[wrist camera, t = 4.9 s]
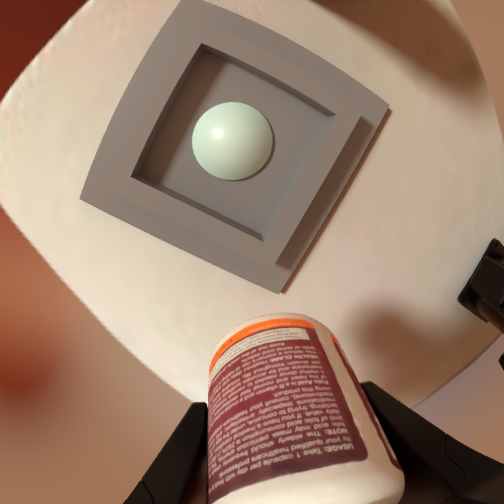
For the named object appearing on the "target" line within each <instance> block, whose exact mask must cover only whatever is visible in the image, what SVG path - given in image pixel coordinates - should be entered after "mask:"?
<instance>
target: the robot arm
mask: <svg viewBox="0 0 504 504" xmlns="http://www.w3.org/2000/svg"><path fill="white" fill-rule="evenodd" d="M458 302H459V303H460V304H461V305H463V306H464V307H465V308H467V309H468V310H470V311H471V312H472V313H474V314H475V315H476V316H478V317H479V318H481V319H482V320H483V321H485V322H486V323H487V322H489V321H490V322H491V323H492V324H493V325H494V326H495V327H496V328H497V329H498V330H500V331H501V332H502V333H503V334H504V246H503V245H502V244H501V243H500V241H499V240H497V239H493V240H492V241H491V243H490V244H489V246H488V248H487V250H486V252H485V254H484V255H483V257H482V259H481V261H480V262H479V264H478V266H477V268H476V269H475V271H474V273H473V274H472V276H471V278H470V279H469V281H468V282H467V284H466V286H465V287H464V289H463V290H462V292H461V293H460V295H459V297H458ZM499 363H500V365H501V366H502V368H503V370H504V353H503V355H501V357H500V359H499ZM360 385H361V387H362V389H363V390H364V392H365V394H366V397H367V399H368V401H369V403H370V405H371V407H372V409H373V411H374V413H375V415H376V417H377V419H378V421H379V423H380V425H381V428H382V430H383V432H384V434H385V436H386V438H387V440H388V442H389V444H390V446H391V448H392V450H393V452H394V454H395V457H396V459H397V461H398V463H399V465H400V466H401V468H402V470H403V473H404V481H405V487H404V492H403V495H402V497H401V499H400V501H399V503H398V504H504V464H503V463H500V462H498V461H496V460H494V459H492V458H490V457H487V456H485V455H483V454H481V453H479V452H477V451H475V450H473V449H471V448H469V447H468V446H466V445H464V444H462V443H461V442H459V441H457V440H456V439H454V438H453V437H451V436H450V435H448V434H445V432H443V431H442V430H440V429H439V428H438V427H436V426H435V425H433V424H432V423H430V422H429V421H427V420H426V419H424V418H423V417H421V416H420V415H419V414H417V413H416V412H414V411H413V410H411V409H410V408H408V407H407V406H406V405H404V404H403V403H401V402H400V401H398V400H397V399H395V398H394V397H393V396H391V395H390V394H388V393H387V392H386V391H384V390H383V389H381V388H380V387H378V386H377V385H376V384H374V383H373V382H371V381H366V382H362V383H360ZM207 419H208V408H207V404H206V403H205V402H194V403H192V404H191V406H190V407H189V409H188V410H187V412H186V414H185V415H184V417H183V418H182V420H181V421H180V423H179V424H178V426H177V427H176V429H175V430H174V432H173V433H172V435H171V436H170V438H169V439H168V441H167V442H166V444H165V445H164V447H163V448H162V450H161V451H160V452H159V454H158V455H157V457H156V458H155V460H154V461H153V463H152V464H151V466H150V467H149V469H148V470H147V472H146V473H145V475H144V476H143V477H142V481H141V480H140V481H139V483H138V484H137V486H136V487H135V489H134V490H133V491H132V493H131V494H130V495H129V497H128V498H127V499H126V500H125V502H124V503H123V504H206V479H207V465H206V463H207V427H208V425H207Z"/></svg>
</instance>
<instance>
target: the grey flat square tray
mask: <svg viewBox="0 0 504 504" xmlns="http://www.w3.org/2000/svg"><path fill="white" fill-rule="evenodd" d="M388 107H389V104H387V103H386V102H385V101H384V100H382V99H381V98H380V97H378V96H377V95H376V94H374V93H373V92H372V91H370V90H369V89H367V88H366V87H365V86H363V85H362V84H360V83H359V82H358V81H356V80H355V79H353V78H352V77H350V76H349V75H347V74H346V73H344V72H343V71H341V70H340V69H338V68H337V67H335V66H334V65H332V64H331V63H329V62H327V61H326V60H324V59H323V58H321V57H319V56H318V55H316V54H314V53H313V52H311V51H309V50H307V49H306V48H304V47H302V46H300V45H299V44H297V43H295V42H293V41H291V40H289V39H288V38H286V37H284V36H282V35H280V34H278V33H276V32H274V31H272V30H270V29H268V28H266V27H264V26H262V25H260V24H258V23H256V22H254V21H251V20H249V19H247V18H245V17H242V16H240V15H238V14H236V13H233V12H231V11H228V10H226V9H224V8H221V7H218V6H216V5H213V4H211V3H208V2H205V1H203V0H181V1H180V2H179V4H178V5H177V7H176V8H175V9H174V11H173V12H172V14H171V15H170V17H169V18H168V19H167V21H166V22H165V24H164V25H163V27H162V28H161V30H160V32H159V33H158V35H157V36H156V38H155V39H154V41H153V43H152V44H151V46H150V47H149V49H148V51H147V52H146V54H145V56H144V57H143V59H142V61H141V63H140V64H139V66H138V68H137V70H136V71H135V73H134V75H133V77H132V79H131V81H130V82H129V84H128V86H127V88H126V90H125V92H124V94H123V96H122V98H121V100H120V102H119V104H118V106H117V108H116V110H115V112H114V114H113V116H112V118H111V121H110V123H109V125H108V127H107V129H106V132H105V134H104V136H103V138H102V141H101V143H100V146H99V148H98V150H97V153H96V155H95V158H94V160H93V163H92V165H91V168H90V171H89V173H88V176H87V179H86V181H85V184H84V187H83V190H82V193H81V196H80V199H81V200H83V201H85V202H87V203H88V204H90V205H92V206H94V207H96V208H98V209H100V210H102V211H104V212H106V213H108V214H110V215H112V216H114V217H116V218H118V219H120V220H122V221H124V222H126V223H128V224H130V225H132V226H134V227H136V228H138V229H141V230H143V231H145V232H147V233H149V234H151V235H153V236H155V237H157V238H159V239H161V240H163V241H165V242H167V243H169V244H171V245H173V246H176V247H178V248H180V249H182V250H184V251H186V252H188V253H190V254H192V255H194V256H196V257H199V258H201V259H203V260H205V261H207V262H209V263H211V264H213V265H216V266H218V267H220V268H222V269H224V270H226V271H228V272H231V273H233V274H235V275H237V276H239V277H241V278H244V279H246V280H248V281H250V282H252V283H254V284H257V285H259V286H261V287H263V288H265V289H268V290H270V291H272V292H274V293H276V294H279V293H280V291H281V290H282V288H283V287H284V285H285V284H286V282H287V280H288V279H289V277H290V276H291V274H292V272H293V271H294V269H295V268H296V266H297V264H298V263H299V261H300V260H301V258H302V256H303V255H304V253H305V252H306V250H307V248H308V247H309V245H310V243H311V242H312V240H313V238H314V237H315V235H316V234H317V232H318V230H319V229H320V227H321V225H322V224H323V222H324V220H325V219H326V217H327V215H328V214H329V212H330V210H331V209H332V207H333V205H334V203H335V202H336V200H337V198H338V197H339V195H340V193H341V191H342V190H343V188H344V186H345V185H346V183H347V181H348V179H349V178H350V176H351V174H352V172H353V171H354V169H355V167H356V165H357V164H358V162H359V160H360V158H361V157H362V155H363V153H364V151H365V149H366V148H367V146H368V144H369V142H370V140H371V139H372V137H373V135H374V133H375V131H376V129H377V128H378V126H379V124H380V122H381V120H382V118H383V117H384V115H385V113H386V111H387V109H388Z"/></svg>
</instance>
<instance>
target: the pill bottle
mask: <svg viewBox="0 0 504 504" xmlns="http://www.w3.org/2000/svg"><path fill="white" fill-rule="evenodd" d="M207 425H208V427H207V463H206V465H207V479H206V504H398V503H399V501H400V499H401V497H402V495H403V492H404V487H405V481H404V473H403V470H402V468H401V466H400V465H399V463H398V461H397V459H396V457H395V454H394V452H393V450H392V448H391V446H390V444H389V442H388V440H387V438H386V436H385V434H384V432H383V430H382V428H381V425H380V423H379V421H378V419H377V417H376V415H375V413H374V411H373V409H372V407H371V405H370V403H369V401H368V399H367V397H366V394H365V392H364V390H363V389H362V387H361V385H360V383H359V381H358V380H357V377H356V376H355V374H354V371H353V369H352V367H351V365H350V363H349V361H348V359H347V357H346V355H345V353H344V351H343V350H342V348H341V346H340V344H339V342H338V340H337V339H336V337H335V336H334V334H333V333H332V332H331V331H330V330H329V329H328V328H327V327H326V326H324V325H323V324H322V323H320V322H318V321H317V320H315V319H313V318H311V317H308V316H306V315H302V314H296V313H274V314H268V315H263V316H259V317H256V318H253V319H250V320H248V321H246V322H244V323H242V324H240V325H239V326H237V327H235V328H234V329H233V330H232V331H230V332H229V333H228V334H227V335H226V336H225V337H224V338H223V339H222V340H221V341H220V342H219V343H218V345H217V346H216V348H215V350H214V351H213V354H212V357H211V360H210V367H209V384H208V419H207Z"/></svg>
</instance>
